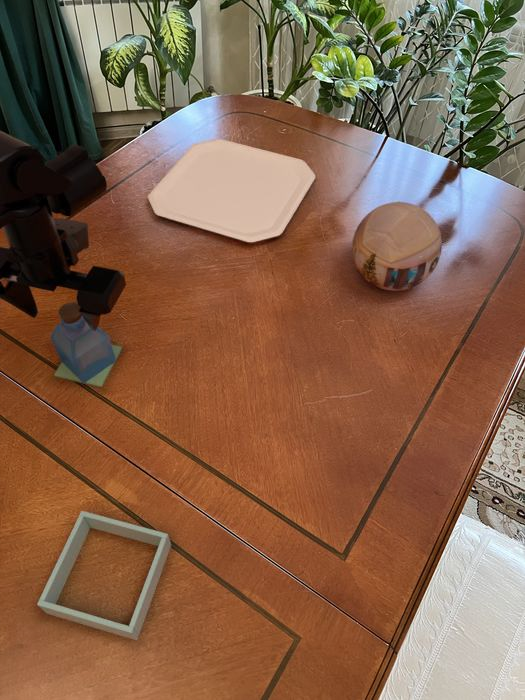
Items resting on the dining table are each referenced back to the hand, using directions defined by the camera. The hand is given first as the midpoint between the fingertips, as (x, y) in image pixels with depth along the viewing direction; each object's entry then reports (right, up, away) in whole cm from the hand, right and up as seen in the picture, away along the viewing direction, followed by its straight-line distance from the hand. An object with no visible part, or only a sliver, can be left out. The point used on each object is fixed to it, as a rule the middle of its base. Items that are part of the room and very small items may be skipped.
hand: (65, 321), depth 80 cm
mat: (0, -6, +11) cm, 13 cm away
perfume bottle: (0, -6, +11) cm, 13 cm away
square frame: (+9, -32, -9) cm, 35 cm away
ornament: (+51, +9, +24) cm, 57 cm away
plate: (+22, +28, +39) cm, 53 cm away
